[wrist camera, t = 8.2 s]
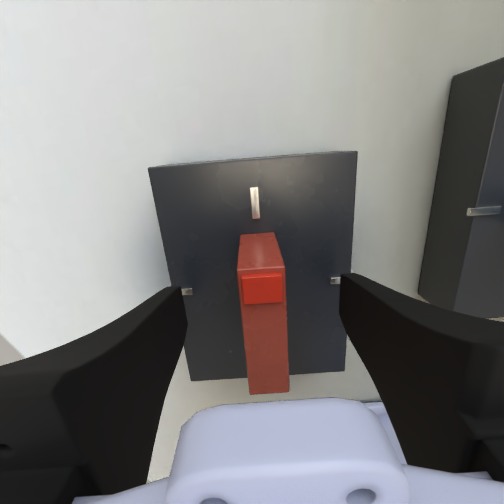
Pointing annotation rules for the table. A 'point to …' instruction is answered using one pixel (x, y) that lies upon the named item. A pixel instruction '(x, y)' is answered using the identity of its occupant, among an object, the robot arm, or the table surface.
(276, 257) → the block
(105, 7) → the table surface
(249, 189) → the hot tap panel
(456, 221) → the panel
